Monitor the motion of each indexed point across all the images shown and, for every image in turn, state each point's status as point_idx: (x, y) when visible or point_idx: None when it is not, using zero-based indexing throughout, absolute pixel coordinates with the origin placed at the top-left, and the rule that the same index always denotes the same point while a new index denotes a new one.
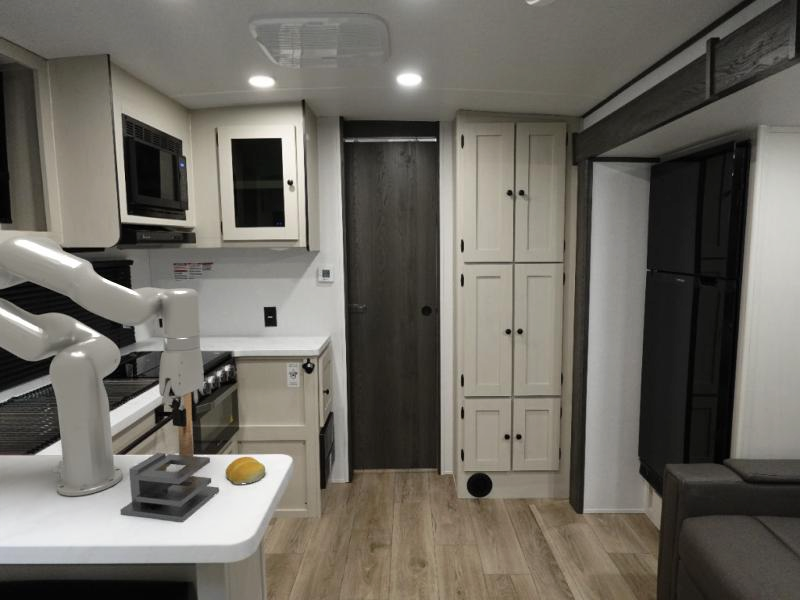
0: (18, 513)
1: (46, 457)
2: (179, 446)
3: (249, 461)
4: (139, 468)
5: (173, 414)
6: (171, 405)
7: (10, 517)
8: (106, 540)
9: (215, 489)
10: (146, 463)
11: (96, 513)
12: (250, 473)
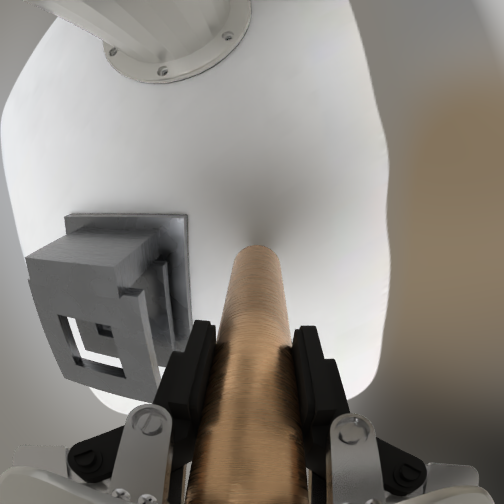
0: (59, 26)
1: None
2: (232, 276)
3: None
4: (36, 282)
5: (160, 386)
6: (106, 447)
7: (50, 30)
8: (28, 251)
9: None
10: (56, 281)
11: (63, 160)
12: None
